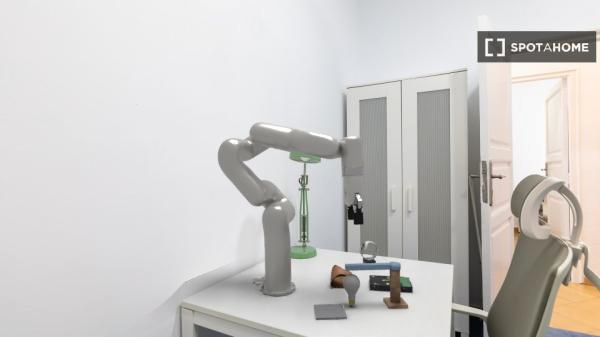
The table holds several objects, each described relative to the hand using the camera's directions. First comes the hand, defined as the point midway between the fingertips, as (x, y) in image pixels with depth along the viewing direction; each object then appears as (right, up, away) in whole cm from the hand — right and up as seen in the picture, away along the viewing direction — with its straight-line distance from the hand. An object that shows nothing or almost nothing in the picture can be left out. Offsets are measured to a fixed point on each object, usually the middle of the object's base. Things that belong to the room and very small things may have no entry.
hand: (355, 222), depth 108 cm
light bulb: (-3, -25, -8) cm, 27 cm away
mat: (-10, -25, -12) cm, 30 cm away
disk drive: (+14, -26, +7) cm, 30 cm away
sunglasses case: (-3, -26, +15) cm, 30 cm away
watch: (+11, -25, +30) cm, 41 cm away
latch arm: (+4, -14, -8) cm, 16 cm away
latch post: (+11, -25, -8) cm, 29 cm away
